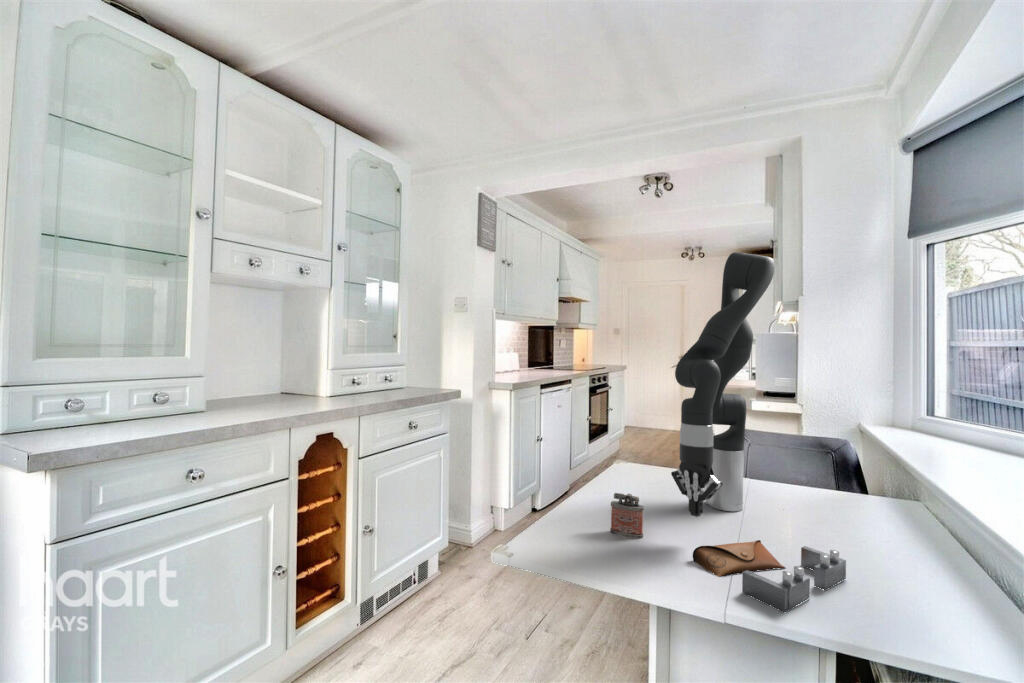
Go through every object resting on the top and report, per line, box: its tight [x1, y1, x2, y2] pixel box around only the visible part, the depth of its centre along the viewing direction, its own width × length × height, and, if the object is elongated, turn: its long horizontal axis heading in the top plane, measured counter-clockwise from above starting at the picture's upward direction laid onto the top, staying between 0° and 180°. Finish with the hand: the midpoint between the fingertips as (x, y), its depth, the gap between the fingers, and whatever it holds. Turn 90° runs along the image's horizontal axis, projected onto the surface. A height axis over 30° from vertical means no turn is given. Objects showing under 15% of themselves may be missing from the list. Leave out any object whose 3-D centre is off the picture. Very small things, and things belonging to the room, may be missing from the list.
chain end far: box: [800, 545, 847, 591], centre depth 99 cm, size 8×9×6 cm
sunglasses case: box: [692, 539, 786, 578], centre depth 105 cm, size 18×7×7 cm, turn 106°
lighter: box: [609, 492, 645, 540], centre depth 120 cm, size 8×3×10 cm, turn 65°
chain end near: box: [741, 565, 811, 613], centre depth 91 cm, size 8×9×6 cm
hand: (695, 515), depth 115 cm, fingers closed
